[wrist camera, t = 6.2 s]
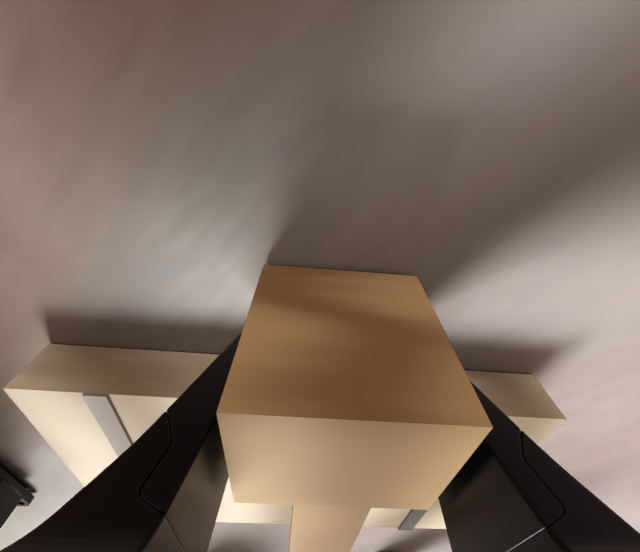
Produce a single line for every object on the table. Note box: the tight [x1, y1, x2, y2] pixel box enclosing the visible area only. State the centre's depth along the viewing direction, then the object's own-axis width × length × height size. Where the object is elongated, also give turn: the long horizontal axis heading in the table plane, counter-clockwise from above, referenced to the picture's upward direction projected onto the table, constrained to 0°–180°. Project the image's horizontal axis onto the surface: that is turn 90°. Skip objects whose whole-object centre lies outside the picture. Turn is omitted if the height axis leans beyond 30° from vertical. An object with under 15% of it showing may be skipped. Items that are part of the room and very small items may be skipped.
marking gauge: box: [216, 264, 493, 552], centre depth 10 cm, size 5×11×5 cm, turn 175°
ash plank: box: [3, 344, 567, 530], centre depth 14 cm, size 20×12×2 cm, turn 84°
